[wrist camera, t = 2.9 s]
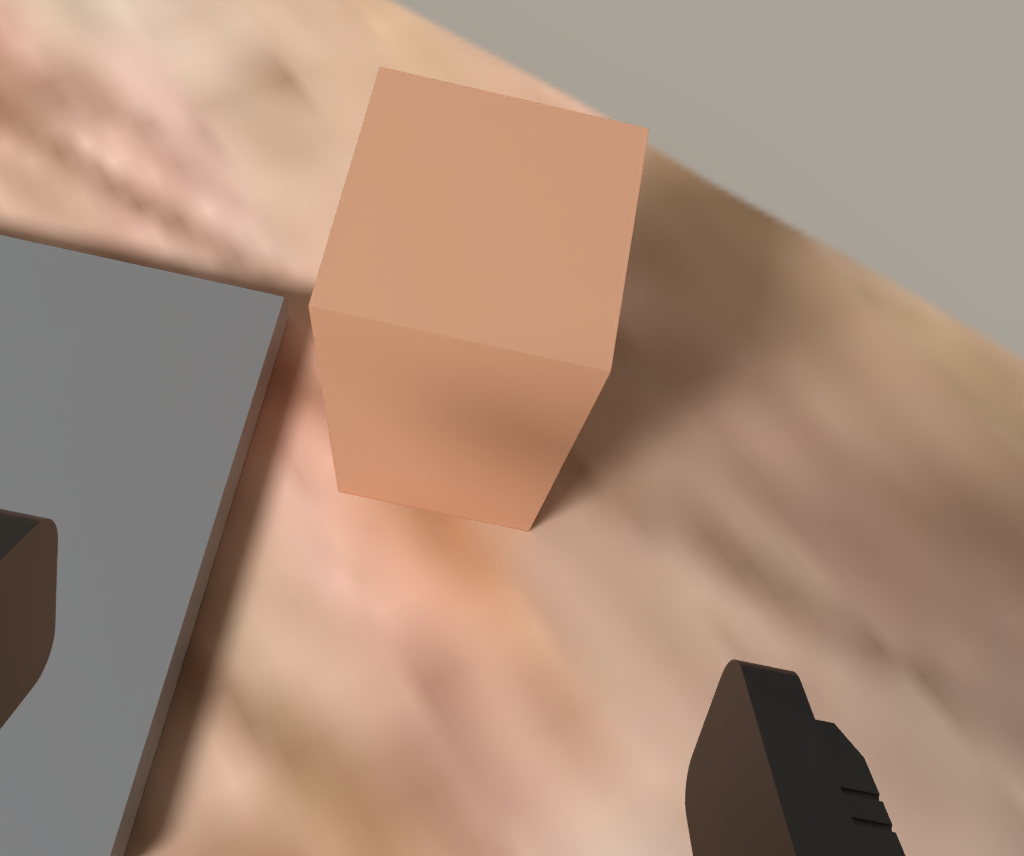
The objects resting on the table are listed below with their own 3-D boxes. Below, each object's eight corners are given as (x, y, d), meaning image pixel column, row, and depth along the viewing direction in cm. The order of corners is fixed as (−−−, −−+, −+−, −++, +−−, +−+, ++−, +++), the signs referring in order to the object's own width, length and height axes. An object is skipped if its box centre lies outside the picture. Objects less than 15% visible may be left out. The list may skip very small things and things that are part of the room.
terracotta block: (559, 361, 27) (648, 128, 18) (528, 531, 25) (610, 371, 16) (383, 322, 27) (380, 67, 17) (338, 491, 25) (308, 305, 16)
